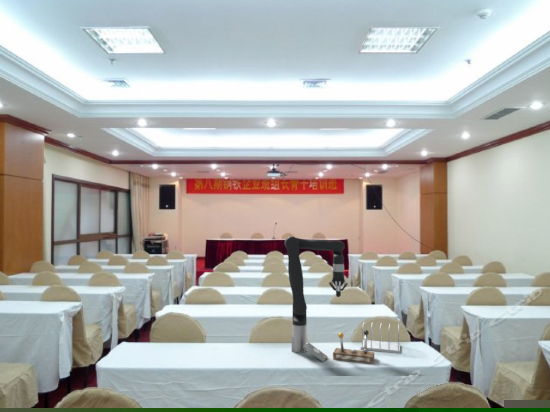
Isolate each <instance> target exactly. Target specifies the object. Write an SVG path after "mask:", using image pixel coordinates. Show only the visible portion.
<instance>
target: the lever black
mask: <svg viewBox="0 0 550 412" xmlns="http://www.w3.org/2000/svg"><path fill="white" fill-rule="evenodd" d="M369 333H370V332H369V330H368V329H365V331H364V330H363V336H364V335H365V342H364V350H363V351H364V353H367V351H368V350H367V340H368V335H369Z"/></svg>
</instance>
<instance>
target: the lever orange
mask: <svg viewBox="0 0 550 412" xmlns="http://www.w3.org/2000/svg"><path fill="white" fill-rule="evenodd" d="M337 336H338V338H339V341H340V343H339V344H340V348H341V351H344V349H345V348H344V337H345V336H344V333H343V332H339V333H338V335H337Z"/></svg>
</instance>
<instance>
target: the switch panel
mask: <svg viewBox="0 0 550 412" xmlns="http://www.w3.org/2000/svg"><path fill="white" fill-rule="evenodd" d="M332 359H333V360H336V361H337V360H338V361H346V362H355V363H365V364H371V365H372V364H374V361H375V351H371V350H367V353H364V350H361V349H359V350H357V349H350V348H344V351H341V347H340V348H339V347H336V348H335V349H334V350H333V352H332Z"/></svg>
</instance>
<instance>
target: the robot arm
mask: <svg viewBox="0 0 550 412" xmlns="http://www.w3.org/2000/svg"><path fill="white" fill-rule="evenodd" d="M284 246H285V248H286V251H287V259H288V264H287V265H288V266H287V269H288V270H287V271H288V272H287V274H288V279H289V284H290V285H289V286H290V289H291V294H292V336H291V352H294V353H298V354H300V353H302V354H303V353H306V352H308V351H307V350H306V349H305V348H304V346H305V345H307V344H308V343H307V340H308V339H307V330H308V329H307V320H308V319H307V309H308V307H307V303H306V300H305V294H304V277H303V274H304V273H303V269H302V264H301V259H300V249H305V250H306V249H308V250H313V251H332V256H333V257H332V279H331V281H330V282H328V284H329V286H330V287H331V288H332V290H333V291H335V295H336V297H337V298H340V297H341V294H342V292H341V291H344V290H345V288H347V286H348V285H349V283H348V282H347V281H346V280H345V265H344V264H345V258H344V255H343V251H344V249H345V247H346V244H345V243H344V242H343V241H341V240H328V239H305V238H299V237H296V236H292V235H291V236H287V237H286V238H285V239H284ZM342 286H343V287H342Z"/></svg>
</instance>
